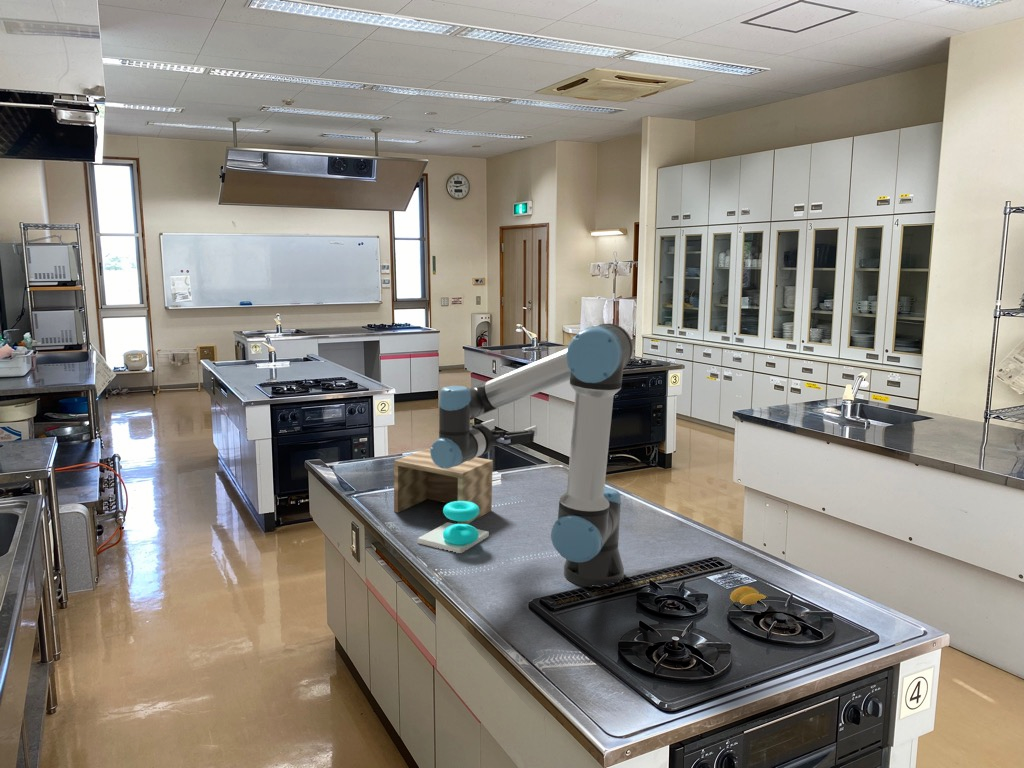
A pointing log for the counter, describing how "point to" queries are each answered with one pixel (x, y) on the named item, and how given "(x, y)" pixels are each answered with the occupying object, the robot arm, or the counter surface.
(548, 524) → the counter surface
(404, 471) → the tunnel
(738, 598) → the bread roll
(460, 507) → the donuts
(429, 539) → the platter
